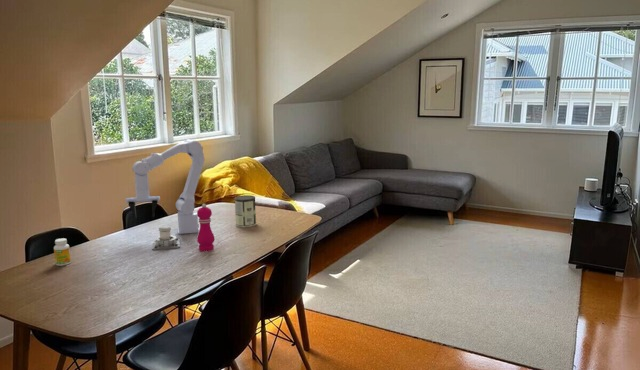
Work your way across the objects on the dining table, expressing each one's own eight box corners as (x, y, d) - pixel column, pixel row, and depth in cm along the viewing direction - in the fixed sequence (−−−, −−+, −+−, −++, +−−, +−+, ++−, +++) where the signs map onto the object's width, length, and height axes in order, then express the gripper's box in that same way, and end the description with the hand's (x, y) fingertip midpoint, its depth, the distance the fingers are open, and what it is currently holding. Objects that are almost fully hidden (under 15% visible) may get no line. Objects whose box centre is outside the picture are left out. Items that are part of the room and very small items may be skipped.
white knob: (168, 240, 216) (167, 225, 214) (173, 243, 212) (172, 228, 211) (157, 243, 212) (156, 227, 211) (162, 245, 209) (161, 230, 207)
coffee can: (244, 220, 251) (243, 194, 248) (260, 223, 246) (259, 196, 243) (231, 225, 243) (230, 198, 240) (246, 228, 237) (245, 200, 235)
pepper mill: (218, 247, 208) (216, 202, 204) (207, 252, 202) (205, 206, 198) (204, 245, 211) (202, 201, 207) (194, 250, 205) (191, 204, 201)
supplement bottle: (55, 266, 187) (52, 242, 185) (55, 262, 191) (52, 238, 190) (71, 264, 189) (68, 240, 187) (70, 260, 194) (68, 237, 192)
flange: (179, 240, 219) (179, 233, 218) (179, 247, 208) (179, 240, 208) (154, 242, 216) (153, 235, 215) (152, 250, 206) (152, 243, 205)
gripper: (159, 185, 224) (161, 214, 226) (126, 187, 220) (128, 216, 222) (158, 188, 217) (160, 217, 220) (124, 190, 213) (126, 220, 216)
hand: (144, 217), depth 221 cm, fingers open, 7 cm apart
